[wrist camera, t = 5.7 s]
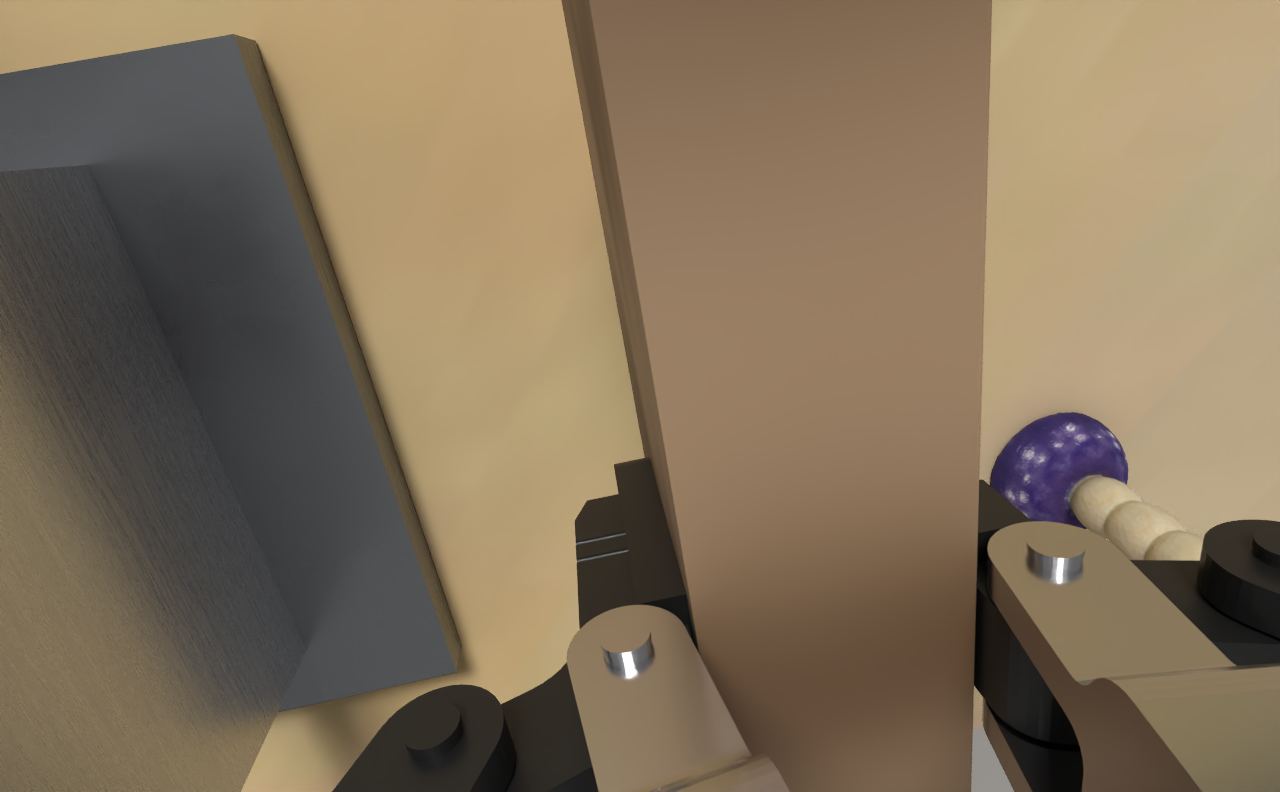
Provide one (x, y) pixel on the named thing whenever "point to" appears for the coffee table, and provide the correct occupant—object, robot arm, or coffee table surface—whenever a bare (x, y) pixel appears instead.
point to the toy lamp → (1087, 488)
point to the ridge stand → (183, 437)
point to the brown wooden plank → (808, 353)
